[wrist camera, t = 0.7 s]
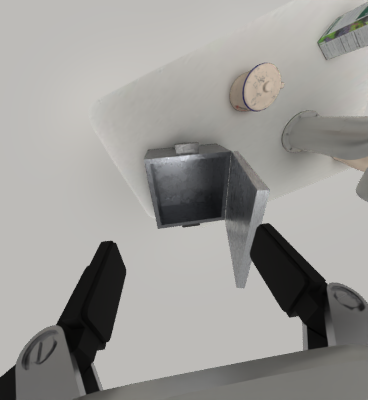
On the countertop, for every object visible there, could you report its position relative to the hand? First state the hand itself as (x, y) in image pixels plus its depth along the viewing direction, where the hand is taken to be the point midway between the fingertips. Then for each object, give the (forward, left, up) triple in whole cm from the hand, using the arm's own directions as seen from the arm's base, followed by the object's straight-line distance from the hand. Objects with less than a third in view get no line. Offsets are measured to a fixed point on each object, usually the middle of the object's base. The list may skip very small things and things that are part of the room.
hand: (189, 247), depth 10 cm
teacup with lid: (-24, -12, -42) cm, 50 cm away
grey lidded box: (-4, +12, -42) cm, 44 cm away
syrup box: (-45, -22, -42) cm, 66 cm away
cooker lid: (-13, +12, -19) cm, 26 cm away
